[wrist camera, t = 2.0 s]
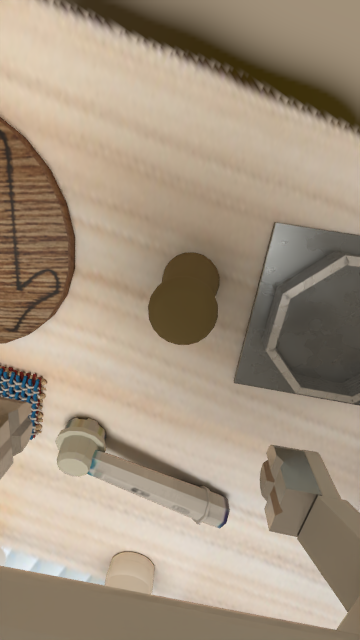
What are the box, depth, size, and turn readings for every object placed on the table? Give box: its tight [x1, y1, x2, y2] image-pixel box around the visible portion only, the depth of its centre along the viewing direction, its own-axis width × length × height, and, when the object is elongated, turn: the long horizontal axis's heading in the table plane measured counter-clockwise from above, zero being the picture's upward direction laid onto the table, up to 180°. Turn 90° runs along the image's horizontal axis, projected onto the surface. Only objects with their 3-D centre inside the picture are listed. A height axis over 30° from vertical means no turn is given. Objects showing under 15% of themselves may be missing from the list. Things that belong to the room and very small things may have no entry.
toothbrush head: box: [55, 417, 230, 528], centre depth 38 cm, size 5×7×25 cm
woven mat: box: [0, 366, 47, 440], centre depth 37 cm, size 10×11×2 cm
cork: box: [148, 253, 219, 345], centre depth 24 cm, size 6×6×11 cm
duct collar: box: [234, 223, 360, 405], centre depth 28 cm, size 18×18×3 cm
